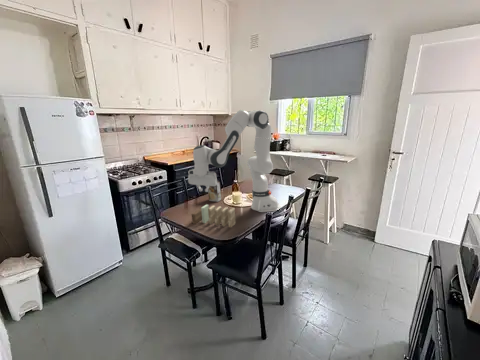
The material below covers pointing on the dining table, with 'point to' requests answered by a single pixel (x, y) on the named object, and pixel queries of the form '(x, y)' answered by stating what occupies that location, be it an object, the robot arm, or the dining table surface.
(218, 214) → the maple domino
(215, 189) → the coffee box
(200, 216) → the end stop
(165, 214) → the dining table surface
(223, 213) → the maple domino
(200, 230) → the dining table surface
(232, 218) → the maple domino
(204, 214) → the sage domino
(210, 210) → the maple domino
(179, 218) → the dining table surface
